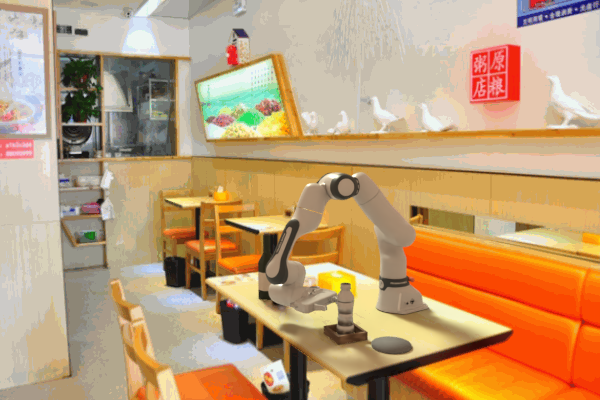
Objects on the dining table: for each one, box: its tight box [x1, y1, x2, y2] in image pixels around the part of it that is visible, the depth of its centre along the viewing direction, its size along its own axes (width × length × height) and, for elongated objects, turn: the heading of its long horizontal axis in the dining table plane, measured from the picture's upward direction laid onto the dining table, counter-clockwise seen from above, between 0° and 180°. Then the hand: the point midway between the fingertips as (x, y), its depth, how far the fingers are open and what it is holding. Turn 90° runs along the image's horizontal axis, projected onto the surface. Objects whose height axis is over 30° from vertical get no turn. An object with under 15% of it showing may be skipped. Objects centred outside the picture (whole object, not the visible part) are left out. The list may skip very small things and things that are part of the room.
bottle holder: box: [323, 321, 369, 346], centre depth 198 cm, size 12×12×3 cm
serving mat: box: [370, 335, 413, 355], centre depth 189 cm, size 14×14×1 cm
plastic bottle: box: [336, 282, 355, 335], centre depth 197 cm, size 6×7×20 cm
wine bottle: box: [257, 232, 273, 301], centre depth 244 cm, size 8×8×30 cm
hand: (333, 305), depth 200 cm, fingers open, 8 cm apart
